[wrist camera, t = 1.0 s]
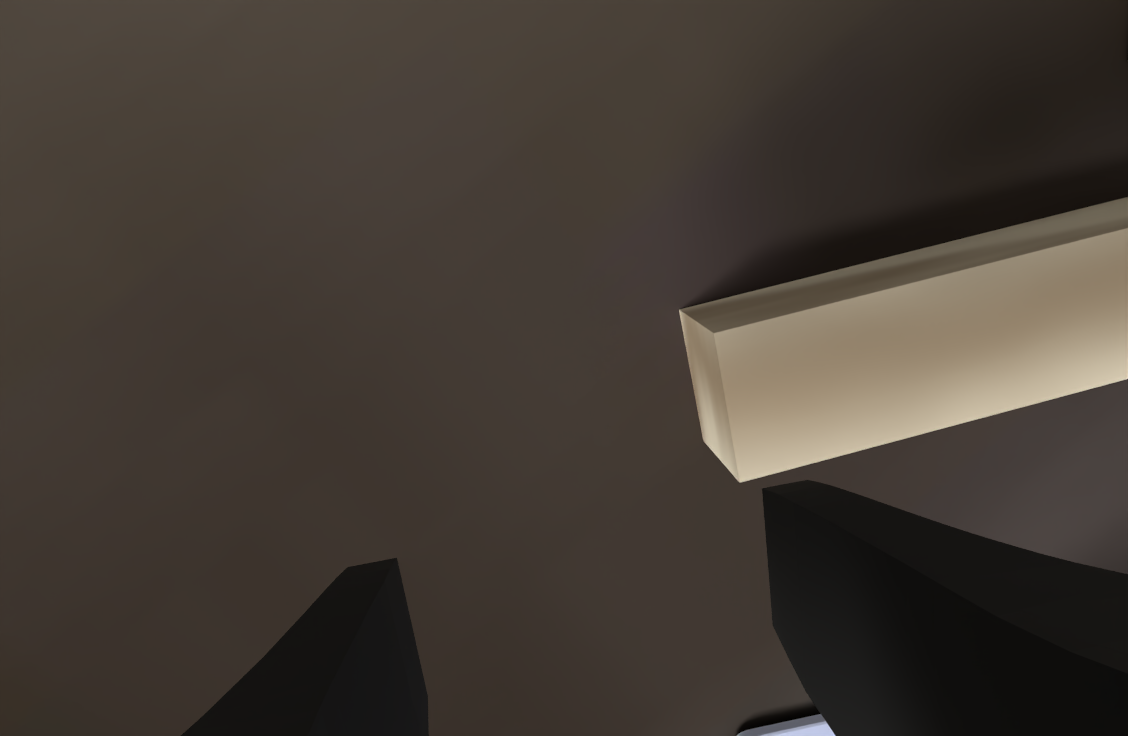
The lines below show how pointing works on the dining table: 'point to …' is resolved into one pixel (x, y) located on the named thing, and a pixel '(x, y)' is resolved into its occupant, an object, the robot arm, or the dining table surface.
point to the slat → (912, 341)
